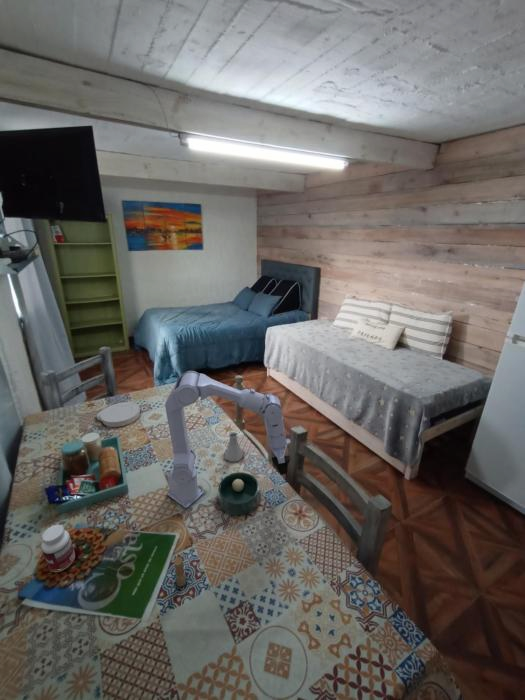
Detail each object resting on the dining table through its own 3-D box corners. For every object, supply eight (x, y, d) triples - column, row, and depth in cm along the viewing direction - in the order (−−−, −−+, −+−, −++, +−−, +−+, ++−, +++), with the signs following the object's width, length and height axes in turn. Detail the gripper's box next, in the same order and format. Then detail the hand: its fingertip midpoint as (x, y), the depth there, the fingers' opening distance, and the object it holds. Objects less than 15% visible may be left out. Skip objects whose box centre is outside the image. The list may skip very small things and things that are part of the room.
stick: (175, 583, 80) (172, 561, 77) (181, 577, 81) (178, 555, 78) (180, 588, 78) (177, 566, 76) (187, 581, 80) (184, 560, 77)
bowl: (210, 502, 103) (209, 490, 101) (236, 478, 113) (236, 466, 111) (242, 523, 96) (241, 510, 94) (266, 495, 106) (266, 483, 104)
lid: (109, 405, 158) (108, 400, 157) (147, 408, 156) (146, 403, 155) (87, 425, 142) (86, 419, 141) (128, 429, 140) (127, 423, 139)
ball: (229, 490, 107) (229, 481, 105) (237, 483, 110) (237, 474, 108) (238, 496, 105) (238, 487, 103) (246, 488, 108) (246, 479, 106)
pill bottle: (45, 563, 84) (34, 533, 80) (70, 546, 89) (61, 517, 85) (53, 578, 81) (43, 548, 76) (79, 560, 85) (70, 531, 81)
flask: (240, 463, 120) (239, 441, 116) (222, 460, 121) (221, 439, 118) (245, 451, 127) (244, 430, 123) (227, 448, 128) (226, 428, 124)
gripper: (292, 444, 93) (297, 479, 98) (285, 416, 106) (290, 448, 111) (268, 448, 92) (275, 483, 97) (264, 420, 106) (270, 452, 111)
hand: (281, 465), depth 104 cm, fingers open, 7 cm apart
